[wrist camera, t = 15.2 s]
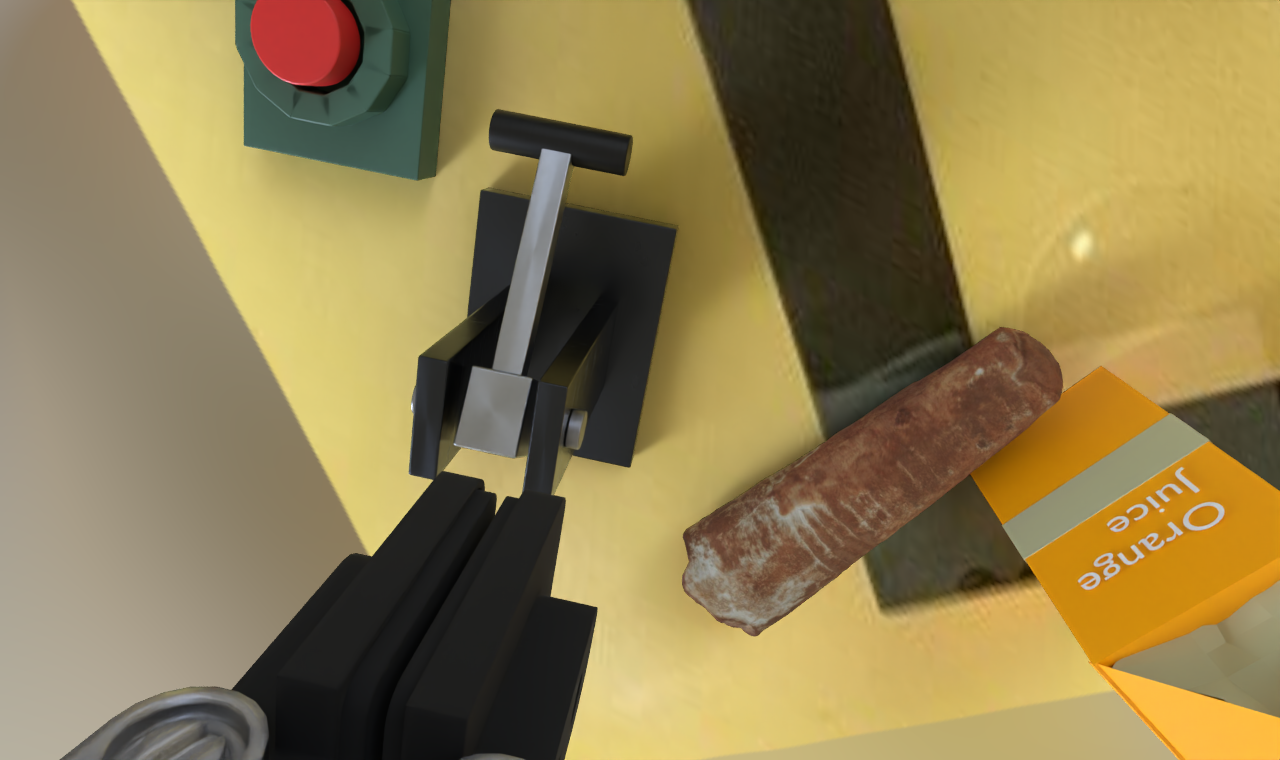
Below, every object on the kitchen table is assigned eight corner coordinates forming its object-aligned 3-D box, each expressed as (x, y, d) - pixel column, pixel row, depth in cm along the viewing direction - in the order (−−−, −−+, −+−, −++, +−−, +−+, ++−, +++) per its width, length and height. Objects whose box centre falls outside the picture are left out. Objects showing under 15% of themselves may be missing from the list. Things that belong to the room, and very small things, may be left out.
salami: (672, 516, 40) (664, 577, 35) (1002, 295, 35) (1050, 328, 30) (746, 601, 42) (748, 672, 36) (1076, 400, 36) (1135, 449, 31)
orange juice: (1068, 584, 39) (1376, 1022, 20) (959, 463, 38) (1182, 815, 19) (1214, 493, 37) (1716, 896, 18) (1104, 361, 35) (1524, 649, 16)
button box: (274, -99, 33) (215, -126, 29) (456, -65, 32) (420, -88, 29) (271, 143, 36) (217, 147, 33) (436, 176, 36) (401, 184, 32)
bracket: (488, 187, 36) (364, 227, 24) (678, 225, 35) (650, 286, 23) (462, 421, 40) (346, 556, 28) (633, 458, 40) (589, 610, 28)
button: (275, -20, 30) (249, -27, 29) (363, -3, 30) (342, -9, 29) (274, 77, 32) (249, 75, 30) (358, 93, 32) (338, 93, 30)
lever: (505, 124, 29) (491, 96, 27) (634, 149, 29) (631, 123, 27) (433, 437, 29) (412, 436, 26) (565, 465, 28) (555, 468, 26)
